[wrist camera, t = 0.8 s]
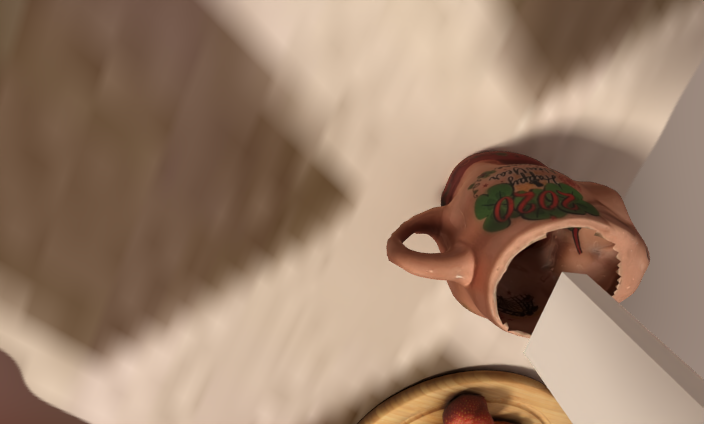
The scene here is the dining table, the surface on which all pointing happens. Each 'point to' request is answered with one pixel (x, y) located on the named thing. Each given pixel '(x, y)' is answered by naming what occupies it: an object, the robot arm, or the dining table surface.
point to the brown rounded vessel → (522, 238)
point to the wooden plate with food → (472, 401)
